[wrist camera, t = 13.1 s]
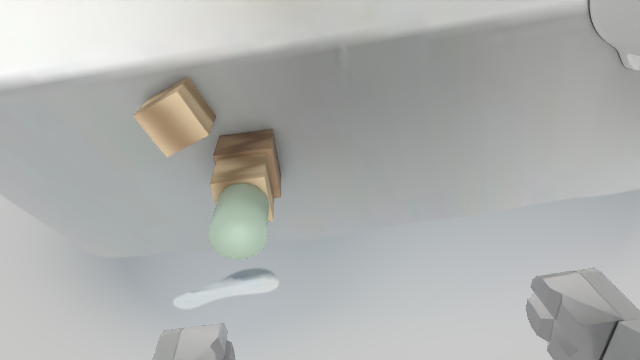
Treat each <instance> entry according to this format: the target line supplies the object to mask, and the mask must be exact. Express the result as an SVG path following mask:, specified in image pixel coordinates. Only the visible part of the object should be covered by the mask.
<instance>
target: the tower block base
mask: <svg viewBox="0 0 640 360" xmlns="http://www.w3.org/2000/svg"><path fill="white" fill-rule="evenodd" d="M259 153H266V155H267V160H268V165H269V171H270V176H271V181H272V186H273V191H274V198H278V197H281V173H280V168H279V162H278V157H277V151H276V146H275V140H274V134H273V129H270V130H263V131H255V132H247V133H240V134H232V135H224V136H219V139H218V142H217V145H216V148H215V152H214V155H213V158H214V161H215V165H216V162H217V159H221V158H229V157H236V156H244V155H252V154H259Z"/></svg>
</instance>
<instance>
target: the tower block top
mask: <svg viewBox="0 0 640 360" xmlns="http://www.w3.org/2000/svg"><path fill="white" fill-rule="evenodd" d="M235 183H249V184H252V185H255V186H257V187H258V188H260V189H261V190H262V191H263V192H264V193H265V194H266V196H267V198H268V201H269V212H268V221H273V210H274V191H273V186H272V181H271V176H270V171H269V165H268V160H267V155H266V153H259V154H252V155H244V156H236V157H229V158H221V159H217V162H216V165H215V168H214V172H213V175H212V178H211V182H210V187H211V190H212V194H213V197H214V201H215V204H217V201H218V197H219V195H220V193H221V192H222V191H223V190H224V189H225V188H226V187H228V186H230V185H232V184H235Z"/></svg>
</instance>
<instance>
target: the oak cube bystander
mask: <svg viewBox="0 0 640 360" xmlns="http://www.w3.org/2000/svg"><path fill="white" fill-rule="evenodd" d="M133 117H134V118H135V119H136V120H137V122H138V123H139V124H140V125H141V127H142V128H143V129H144V130H145V131H146V133H147V134H148V135H149V136H150V137H151V139H152V140H153V141H154V142H155V143H156V145H157V146H158V147H159V148H160V149H161V151H162V152H163V153H164V154H165V155H166V157H169V156H171V155H172V154H174V153H176V152H178V151H180V150H182V149H184V148H186V147H187V146H189V145H191V144H193V143H195V142H197V141H199V140H201V139H203V138H204V137H206V136H208V135H209V134H210V131H211V128H212V126H213V123H214V121H215V118H216V116H215V114H214V113H213V112H212V110H211V109H210V107H209V106H208V104H207V103H206V102H205V100H204V99H203V97H202V96H201V95H200V93H199V92H198V90H197V89H196V87H195V86H194V85H193V83H192V82H191V80H190V79H189V78H188V77H186V78H184V79H182V80H181V81H179V82H177V83H175V84H174V85H172V86H170V87H168V88H167V89H165V90H163V91H161V92H160V93H158V94H156V95H154V96H153V97H151V98H149V99H148V100H147V101H146V102H145V103H144V104H143V105H142V107H141V108H140V109H139V110H138V111H137V112H136V113H135V115H134V116H133Z"/></svg>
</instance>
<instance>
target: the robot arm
mask: <svg viewBox="0 0 640 360" xmlns="http://www.w3.org/2000/svg"><path fill="white" fill-rule="evenodd" d="M590 13H591V18H592V22H593V25H594V27H595V29H596V31H597V32H598V34H599V35H600V36H601V37H602V38H603V39H604V40H605V41H606V42H607V43H609V44H610V45H612V46H613V47H614V48H616V49H617V51H618V52H619V55H620V58H621V60H622V63H623V64H624V66H625V67H626V68H627V69H631V70H640V0H590ZM531 288H532V290H533V291H534V294H532V295H531V296H530V297H529V298H528V300H527V305H526V311H527V316H528V320H529V322H530V324H531V326H532V328H533V330H534V331H535V332H536V334H537V335H538V336H539V337H541V338H543V339H544V340H546V341H548V346H547V351H548V352H549V354H550V355H551V357H552V358H553V360H640V310H639V309H637V308H636V306H635V305H634V304H633V303H632V302H630V300H629V299H628V298H626V297H625V295H624V294H623V293H622V292H620V290H619V289H618V288H616V286H615V285H614V284H613V283H612V282H611V281H609V279H607V278H606V276H605V275H604V274H603V273H602V272H600V271H599V270H597V269H595V268H589V269H582V270H576V271H567V272H561V273H554V274H549V275H542V276H536V277H535V278H534V279H533V280H532V284H531ZM153 360H235V354H234V349H233V346H232V343H231V342H230V341H228V340H227V329H226V326H225V324H224V323H219V324H210V325H202V326H193V327H185V328H179V329H171V330H164V331H163V333H162V334H161V336H160V338H159V341H158V344H157V347H156V351H155V354H154V357H153Z"/></svg>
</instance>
